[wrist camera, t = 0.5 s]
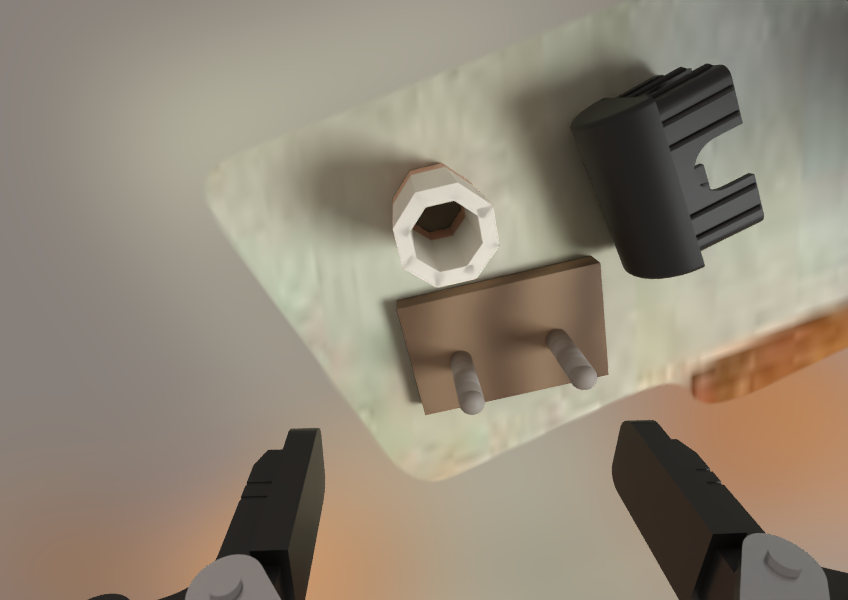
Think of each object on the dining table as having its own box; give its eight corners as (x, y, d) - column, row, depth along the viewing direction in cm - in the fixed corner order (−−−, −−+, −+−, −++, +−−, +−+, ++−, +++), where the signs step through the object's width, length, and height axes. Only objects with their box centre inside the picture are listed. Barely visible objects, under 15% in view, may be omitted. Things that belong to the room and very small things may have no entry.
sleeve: (464, 157, 29) (488, 174, 22) (478, 232, 31) (504, 272, 24) (387, 175, 29) (384, 199, 22) (405, 249, 31) (409, 294, 24)
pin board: (591, 256, 32) (643, 295, 26) (600, 364, 36) (647, 424, 29) (396, 300, 33) (397, 351, 26) (424, 403, 36) (431, 471, 29)
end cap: (551, 123, 29) (594, 129, 23) (659, 64, 28) (735, 52, 22) (604, 257, 32) (653, 293, 26) (700, 208, 32) (776, 234, 25)
